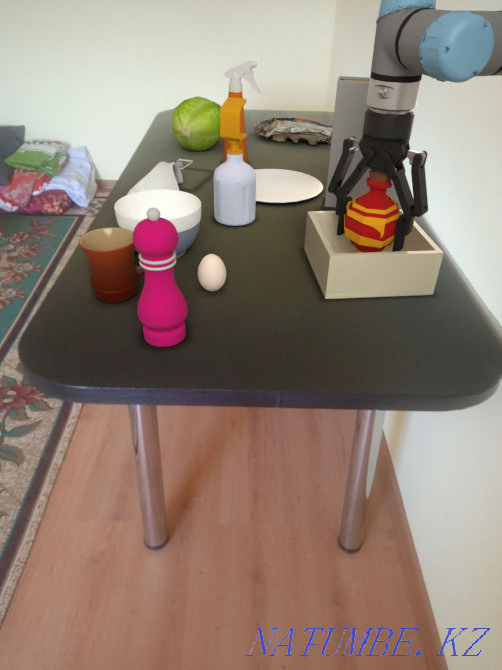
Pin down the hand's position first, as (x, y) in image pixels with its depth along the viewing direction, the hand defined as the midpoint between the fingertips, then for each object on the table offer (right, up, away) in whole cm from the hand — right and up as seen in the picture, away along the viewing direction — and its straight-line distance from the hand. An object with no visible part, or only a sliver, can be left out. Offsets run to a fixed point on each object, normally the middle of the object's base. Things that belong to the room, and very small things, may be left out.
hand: (368, 241), depth 92 cm
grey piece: (-5, +48, +79) cm, 92 cm away
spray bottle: (-24, +32, +55) cm, 68 cm away
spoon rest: (-42, +15, +30) cm, 54 cm away
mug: (-42, -10, -5) cm, 44 cm away
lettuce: (-37, +41, +67) cm, 87 cm away
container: (+2, +10, +25) cm, 27 cm away
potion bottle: (0, -2, +2) cm, 3 cm away
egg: (-28, -9, -3) cm, 29 cm away
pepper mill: (-34, -17, -15) cm, 41 cm away
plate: (-15, +20, +39) cm, 47 cm away
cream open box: (0, -5, +3) cm, 6 cm away
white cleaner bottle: (-25, +9, +23) cm, 35 cm away
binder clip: (-39, +25, +44) cm, 64 cm away
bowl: (-38, 0, +9) cm, 39 cm away
